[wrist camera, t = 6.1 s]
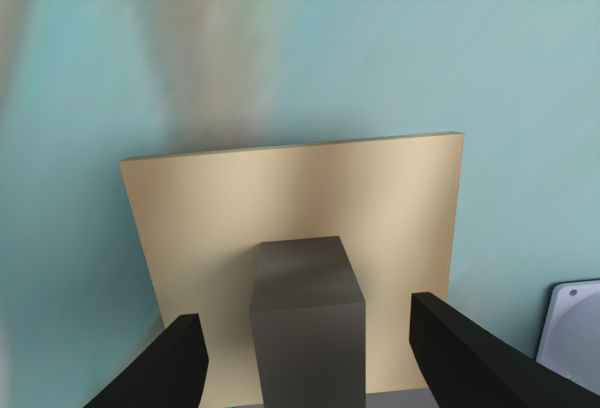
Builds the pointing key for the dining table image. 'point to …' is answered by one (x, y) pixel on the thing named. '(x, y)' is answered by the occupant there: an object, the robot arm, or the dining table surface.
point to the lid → (300, 260)
